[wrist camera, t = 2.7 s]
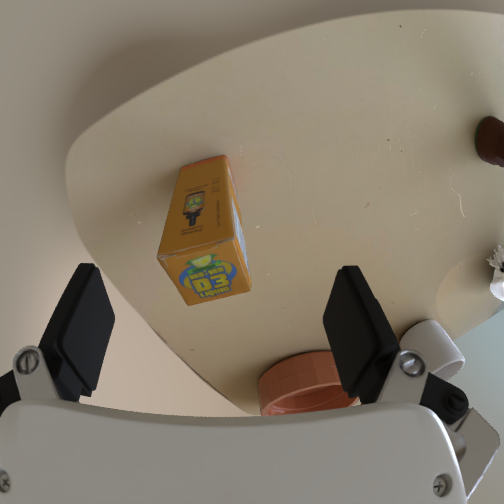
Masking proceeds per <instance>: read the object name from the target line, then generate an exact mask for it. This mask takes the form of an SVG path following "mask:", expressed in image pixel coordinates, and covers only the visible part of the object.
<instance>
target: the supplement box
mask: <svg viewBox="0 0 504 504" xmlns="http://www.w3.org/2000/svg"><path fill="white" fill-rule="evenodd" d="M157 259H158V261H159V263H160V264H161V266H162V267H163V268H164V270H165V271H166V273H167V274H168V276H169V277H170V278H171V280H172V281H173V283H174V284H175V286H176V288H177V289H178V291H179V293H180V294H181V296H182V298H183V299H184V301H185V302H186V304H187V305H188V306H190V305H195V304H199V303H203V302H208V301H212V300H216V299H220V298H225V297H228V296H232V295H236V294H241V293H245V292H249V291H251V279H250V272H249V266H248V260H247V253H246V247H245V241H244V234H243V227H242V221H241V214H240V209H239V203H238V197H237V192H236V187H235V183H234V179H233V176H232V172H231V168H230V165H229V161H228V158H227V156H226V155H221V156H217V157H213V158H210V159H206V160H203V161H199V162H196V163H193V164H190V165H186V166H183V167H182V168H181V170H180V173H179V176H178V180H177V183H176V187H175V190H174V193H173V197H172V201H171V204H170V208H169V211H168V215H167V219H166V223H165V227H164V231H163V235H162V239H161V243H160V246H159V250H158V254H157Z"/></svg>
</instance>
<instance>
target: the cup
mask: <svg viewBox="0 0 504 504" xmlns="http://www.w3.org/2000/svg"><path fill="white" fill-rule="evenodd" d="M400 347H401V350H403V349H414V350H417V351H418V352H420V353H421V354H422V355H423V356H424V357H425V358H426V360H427V362H428V366H429V371H428V372H430V373H432V374H434V375H436V376H437V377H439V378H441V379H443V380H445V381H446V382H447V381H448V380H450V379H451V378H452V377H453V376H454V375H456V374H457V373H458V372H459V371H460V369H461V368H462V367H463V365H464V363H465V359H464V357H463V355H462V354H461V352H460V351H459V350H458V348H457V347H456V345H455V344H454V343H453V341H452V340H451V339H450V337H449V336H448V335H447V333H446V332H445V331H444V329H443V328H442V327H441V326H440V325H439V324H438V323H437V322H436V321H433V320H426V321H423V322H420V323H418V324H416V325H415V326H413V327H412V328H410V329H409V330H408V331H407V332H406V333H405V334H404V336H403V337H402V339H401V341H400Z"/></svg>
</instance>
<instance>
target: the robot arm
mask: <svg viewBox="0 0 504 504" xmlns="http://www.w3.org/2000/svg"><path fill="white" fill-rule="evenodd" d="M114 322H115V315H114V312H113V309H112V306H111V304H110V301H109V298H108V295H107V292H106V289H105V286H104V283H103V280H102V277H101V274H100V270H99V268H98V267H95V265H94V264H93V263H80V264H79V265H78V267H77V269H76V270H75V272H74V274H73V276H72V278H71V279H70V281H69V283H68V285H67V287H66V289H65V291H64V293H63V294H62V296H61V298H60V300H59V302H58V305H57V307H56V308H55V310H54V312H53V314H52V317H51V319H50V321H49V323H48V325H47V328H46V330H45V332H44V334H43V336H42V338H41V341H40V344H39V346H38V347H35V346H26V347H23V348H22V349H21V350H20V351H18V353H17V354H16V355H15V357H14V360H13V370H11V371H9V372H8V373H6V374H5V375H3V376H1V377H0V504H468V503H467V499H468V498H469V497H470V495H471V494H472V492H473V491H474V489H475V488H476V486H477V485H478V483H479V482H480V480H481V478H482V477H483V475H484V474H485V472H486V470H487V468H488V467H489V465H490V463H491V461H492V460H493V458H494V456H495V454H496V452H497V450H498V448H499V445H500V438H499V434H498V433H497V431H496V430H495V429H494V428H493V427H492V426H491V425H490V424H489V423H488V422H487V421H486V420H485V419H484V418H483V417H482V416H481V415H480V414H479V413H478V412H477V411H476V410H475V409H474V408H471V409H469V408H468V406H469V403H468V399H467V397H466V395H465V393H464V392H463V391H462V390H461V389H459V388H457V387H456V386H454V385H452V384H450V383H448V382H446V381H445V380H443V379H441V378H439V377H437V376H436V375H434V374H432V373H430V372H428V371H429V366H428V362H427V360H426V358H425V357H424V356H423V355H422V354H421V353H420V352H418V351H417V350H414V349H403V350H401V347H400V345H399V343H398V341H397V339H396V337H395V335H394V332H393V330H392V328H391V326H390V324H389V322H388V320H387V318H386V316H385V314H384V312H383V310H382V308H381V306H380V304H379V302H378V300H377V299H376V298H375V297H374V295H373V293H372V291H371V289H370V287H369V285H368V283H367V281H366V280H365V278H364V276H363V274H362V272H361V270H360V268H359V267H358V266H343V267H342V269H339V270H338V272H337V275H336V278H335V281H334V285H333V288H332V291H331V294H330V297H329V300H328V303H327V306H326V309H325V312H324V315H323V324H324V328H325V331H326V334H327V337H328V341H329V344H330V347H331V351H332V354H333V357H334V361H335V364H336V368H337V371H338V375H339V378H340V382H341V385H342V389H343V391H344V392H347V394H348V397H349V399H350V398H355V397H359V399H360V402H361V405H357V406H351V407H345V408H338V409H331V410H323V411H315V412H306V413H297V414H286V415H272V416H253V417H194V416H174V415H161V414H150V413H141V412H132V411H125V410H118V409H111V408H104V407H98V406H92V405H87V404H81V403H80V402H79V398H80V395H83V396H87V397H91V394H92V391H94V390H95V389H96V387H97V383H98V379H99V375H100V371H101V367H102V363H103V360H104V356H105V352H106V349H107V345H108V342H109V339H110V336H111V332H112V329H113V326H114Z"/></svg>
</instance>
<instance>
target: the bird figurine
mask: <svg viewBox="0 0 504 504" xmlns="http://www.w3.org/2000/svg"><path fill="white" fill-rule="evenodd" d="M498 247H499V248H498V252H497V251H495V250H494V251H495V254H496V255H493V256H494V260H492V259H487V260H488V261H489V262H490V263H489V264H490V265H491V266H492V267H495V271H494V276H493V280H492V282H491V283H490V291H491V292H492V293H493V294H494V297H495V296H496V297H497V298H499V299H500V300H503V301H504V252H503V247H502V248H501V247H500V245H498ZM490 258H491V257H490Z"/></svg>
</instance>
